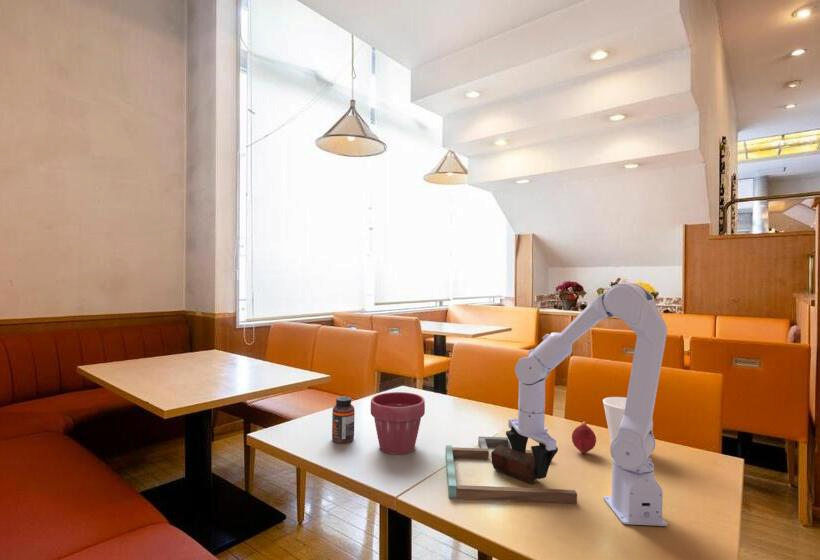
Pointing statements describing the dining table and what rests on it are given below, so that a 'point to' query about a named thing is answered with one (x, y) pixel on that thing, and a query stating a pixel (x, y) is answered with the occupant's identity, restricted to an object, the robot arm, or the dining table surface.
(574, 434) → the onion
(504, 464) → the brick
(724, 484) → the dining table surface
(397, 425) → the plant pot
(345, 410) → the supplement bottle
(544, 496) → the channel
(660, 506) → the robot arm
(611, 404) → the cup
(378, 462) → the dining table surface
